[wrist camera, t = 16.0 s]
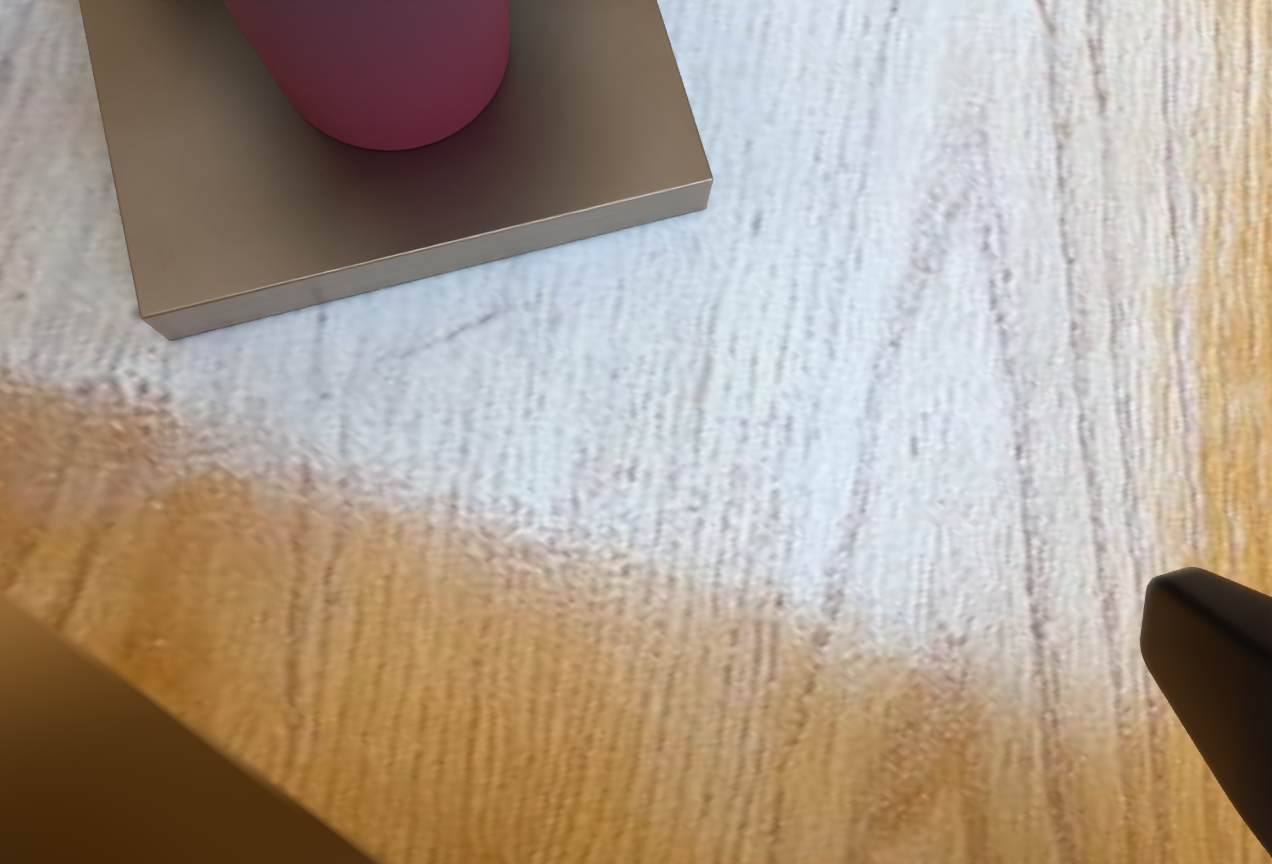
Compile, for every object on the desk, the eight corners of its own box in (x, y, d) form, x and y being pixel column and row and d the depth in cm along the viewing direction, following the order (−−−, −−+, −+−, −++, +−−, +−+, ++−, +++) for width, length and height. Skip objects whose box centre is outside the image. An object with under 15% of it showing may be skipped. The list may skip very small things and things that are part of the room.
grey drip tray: (706, 209, 24) (713, 179, 23) (169, 341, 23) (139, 319, 21) (590, -164, 26) (590, -213, 25) (89, -59, 25) (58, -105, 23)
